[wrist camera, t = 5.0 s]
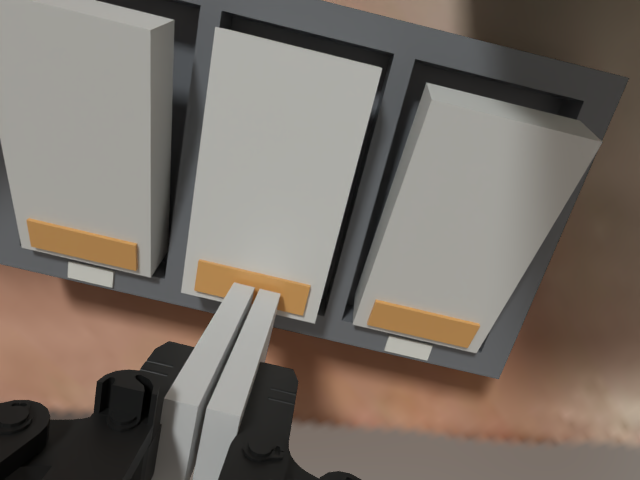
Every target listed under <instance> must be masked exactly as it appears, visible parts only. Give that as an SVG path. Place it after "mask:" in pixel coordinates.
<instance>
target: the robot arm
mask: <svg viewBox="0 0 640 480" xmlns="http://www.w3.org/2000/svg"><path fill="white" fill-rule="evenodd" d="M254 289H255V287H251V286H247V285H243V284H239V283H235V282H234V283H233V285H232V286H231V288H230V290H229V291H228V293H227V295H226V296H225V298H224V300H223V301H222V303H221V305H220V306H219V308H218V310H217V311H216V313H215V315H214V316H213V318H212V320H211V321H210V323H209V325H208V326H207V328H206V330H205V331H204V333H203V335H202V336H201V338H200V340H199V341H198V343H197V345H196V346H195V347H191V346H187V345H183V344H178V343H174V342H170V341H169V342H167V343H165V344H163V345H162V346H160V347H158V348H156V349H155V350H154V351H153V353H152V354H151V355H150V357H149V358H148V359H147V362H145V363H144V365H143V366H142V367H141V369H140V371H137V370H121V371H115V372H112V373H109V374H107V375H105V376H103V377H102V378H101V379H99V380H98V381H97V386H96V395H95V405H94V413H93V414H92V415H91V417H88V418H84V419H74V420H50V414H49V412H48V409H47V408H46V407H45V406H43V405H42V404H40V403H38V402H34V401H30V400H13V401H9V402H4V403H0V480H190V477H191V474H192V472H193V470H194V467H195V470H194V475H193V480H361V479H359V478H357V477H356V476H354V475H352V474H350V473H345V472H339V471H337V472H329V473H327V474H325V475H324V476H322V477H320V479H319V478H317V477H315V476H313V475H311V474H309V473H308V472H306V471H305V470H303V469H302V468H301V467H299V466H298V465H297V463H296V462H295V461H294V460H293V458H292V457H291V455H290V451H289V436H290V430H291V424H292V418H293V412H294V405H295V399H296V393H297V387H298V380H297V377H296V375H295V373H294V370H293V369H289V368H284V367H280V366H276V365H272V364H268V363H264V362H265V359H266V355H267V350H268V346H269V342H270V337H271V333H272V329H273V325H274V320H275V316H276V312H277V307H278V303H279V299H280V293H276V292H272V291H268V290H263V289H259V291H258V294H257V296H256V298H255V300H254V303H253V305H252V307H251V304H252V299H253V294H254ZM250 308H251V309H250Z"/></svg>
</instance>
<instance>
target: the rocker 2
mask: <svg viewBox="0 0 640 480" xmlns="http://www.w3.org/2000/svg"><path fill="white" fill-rule="evenodd" d="M381 72H382V68H381V67H378V66H374V65H370V64H366V63H362V62H358V61H354V60H350V59H346V58H342V57H338V56H334V55H330V54H326V53H322V52H318V51H314V50H310V49H306V48H301V47H297V46H293V45H289V44H285V43H281V42H277V41H273V40H269V39H265V38H261V37H257V36H253V35H249V34H245V33H241V32H237V31H233V30H229V29H224V28H219V27H215V33H214V41H213V48H212V56H211V64H210V72H209V79H208V87H207V95H206V103H205V110H204V118H203V126H202V133H201V141H200V149H199V157H198V164H197V172H196V180H195V188H194V195H193V203H192V211H191V219H190V226H189V234H188V242H187V250H186V257H185V265H184V273H183V281H182V288H181V293H185V294H189V295H194V296H198V297H202V298H207V299H211V300H215V301H220V302H222V301H223V300H224V298H225V296H226V295H227V293H228V291H229V290H230V288H231V286H232V285H233V283H234V282H235V283H239V284H243V285H247V286H251V287H255V289H254V294H253V299H252V304H251V307H252V305H253V303H254V300H255V298H256V296H257V294H258V291H259V289H263V290H268V291H272V292H276V293H280V299H279V303H278V307H277V312H276V315H280V316H284V317H289V318H293V319H297V320H301V321H306V322H310V323H314V324H315V321H316V317H317V314H318V310H319V306H320V302H321V299H322V295H323V291H324V287H325V283H326V280H327V276H328V272H329V268H330V265H331V261H332V257H333V253H334V249H335V246H336V242H337V238H338V234H339V231H340V227H341V223H342V219H343V215H344V212H345V208H346V204H347V200H348V197H349V193H350V189H351V185H352V181H353V178H354V174H355V170H356V166H357V162H358V159H359V155H360V151H361V147H362V144H363V140H364V136H365V132H366V128H367V125H368V121H369V117H370V113H371V110H372V106H373V102H374V98H375V94H376V91H377V87H378V83H379V79H380V76H381ZM250 309H251V308H250Z"/></svg>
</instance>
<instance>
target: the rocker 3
mask: <svg viewBox="0 0 640 480" xmlns="http://www.w3.org/2000/svg"><path fill="white" fill-rule="evenodd" d="M602 143H603V142H602V141H601V140H600V139H599V138H598V137H597V136H596V135H595V134H594V133H593V132H591V131H590V130H589V129H588V128H587V127H586V126H585V125H584V124H583V123H582V122H581V121H580V120H576V119H572V118H567V117H563V116H559V115H555V114H551V113H547V112H543V111H539V110H535V109H531V108H527V107H523V106H519V105H515V104H511V103H507V102H503V101H499V100H495V99H491V98H487V97H483V96H479V95H475V94H471V93H467V92H463V91H459V90H455V89H451V88H447V87H443V86H439V85H435V84H431V83H427V82H426V85H425V88H424V91H423V94H422V97H421V100H420V103H419V106H418V109H417V112H416V115H415V118H414V121H413V124H412V127H411V130H410V132H409V135H408V138H407V141H406V144H405V147H404V150H403V153H402V156H401V159H400V162H399V165H398V168H397V171H396V174H395V177H394V180H393V183H392V186H391V189H390V192H389V195H388V198H387V201H386V203H385V206H384V209H383V212H382V215H381V218H380V221H379V224H378V227H377V230H376V233H375V236H374V239H373V242H372V245H371V248H370V251H369V254H368V257H367V260H366V263H365V266H364V269H363V272H362V274H361V277H360V280H359V283H358V286H357V289H356V292H355V298H354V312H353V325H357V326H361V327H365V328H370V329H374V330H378V331H382V332H387V333H391V334H395V335H400V336H404V337H408V338H413V339H417V340H421V341H425V342H430V343H434V344H438V345H443V346H447V347H451V348H456V349H460V350H464V351H468V352H473V353H477V351H478V350H479V348H480V346H481V345H482V343H483V341H484V340H485V338H486V336H487V335H488V333H489V331H490V330H491V328H492V326H493V325H494V323H495V321H496V320H497V318H498V316H499V315H500V313H501V311H502V310H503V308H504V306H505V305H506V303H507V301H508V300H509V298H510V296H511V295H512V293H513V291H514V290H515V288H516V286H517V285H518V283H519V281H520V280H521V278H522V276H523V275H524V273H525V271H526V270H527V268H528V266H529V265H530V263H531V261H532V260H533V258H534V256H535V255H536V253H537V251H538V250H539V248H540V246H541V245H542V243H543V241H544V240H545V238H546V236H547V235H548V233H549V231H550V229H551V228H552V226H553V224H554V223H555V221H556V219H557V218H558V216H559V214H560V213H561V211H562V209H563V208H564V206H565V204H566V203H567V201H568V199H569V198H570V196H571V194H572V193H573V191H574V189H575V188H576V186H577V184H578V183H579V181H580V179H581V178H582V176H583V174H584V173H585V171H586V169H587V168H588V166H589V164H590V163H591V161H592V159H593V158H594V156H595V154H596V153H597V151H598V149H599V148H600V146H601V144H602Z"/></svg>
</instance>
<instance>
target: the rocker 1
mask: <svg viewBox="0 0 640 480" xmlns="http://www.w3.org/2000/svg"><path fill="white" fill-rule="evenodd" d="M174 23H175V20H173V19H169V18H165V17H161V16H157V15H153V14H149V13H145V12H141V11H137V10H133V9H129V8H125V7H121V6H117V5H113V4H109V3H105V2H101V1H97V0H0V141H1V146H2V151H3V156H4V161H5V166H6V171H7V176H8V181H9V186H10V191H11V196H12V201H13V206H14V211H15V216H16V221H17V226H18V231H19V236H20V241H21V246H22V248H25V249H30V250H34V251H38V252H43V253H47V254H51V255H55V256H60V257H64V258H68V259H73V260H77V261H81V262H86V263H90V264H94V265H98V266H103V267H107V268H111V269H116V270H120V271H124V272H129V273H133V274H137V275H142V276H146V277H150V278H151V276H152V275H153V273H154V272H155V270H156V269H157V267H158V266H159V264H160V263H161V261H162V260H163V258H164V257H165V255H166V254H167V252H168V247H169V209H170V172H171V135H172V98H173V60H174Z"/></svg>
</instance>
